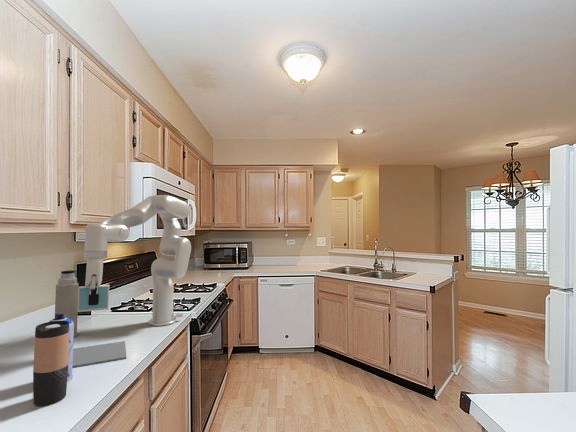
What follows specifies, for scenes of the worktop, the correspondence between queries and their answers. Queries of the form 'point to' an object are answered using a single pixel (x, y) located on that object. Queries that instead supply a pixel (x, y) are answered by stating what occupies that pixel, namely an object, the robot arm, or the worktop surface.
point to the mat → (98, 354)
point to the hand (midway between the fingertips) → (93, 303)
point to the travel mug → (50, 362)
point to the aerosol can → (71, 333)
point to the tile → (84, 298)
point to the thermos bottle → (67, 297)
